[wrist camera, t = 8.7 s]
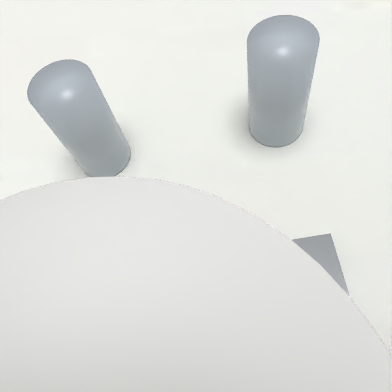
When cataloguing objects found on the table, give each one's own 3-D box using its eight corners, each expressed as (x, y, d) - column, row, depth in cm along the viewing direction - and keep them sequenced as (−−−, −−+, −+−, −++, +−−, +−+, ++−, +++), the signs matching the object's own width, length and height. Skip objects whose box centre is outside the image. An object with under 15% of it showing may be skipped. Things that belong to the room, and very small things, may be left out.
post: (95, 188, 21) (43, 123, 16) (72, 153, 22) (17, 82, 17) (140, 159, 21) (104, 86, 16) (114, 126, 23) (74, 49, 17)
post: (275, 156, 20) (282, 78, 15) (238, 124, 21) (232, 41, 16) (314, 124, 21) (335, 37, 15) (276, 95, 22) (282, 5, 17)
